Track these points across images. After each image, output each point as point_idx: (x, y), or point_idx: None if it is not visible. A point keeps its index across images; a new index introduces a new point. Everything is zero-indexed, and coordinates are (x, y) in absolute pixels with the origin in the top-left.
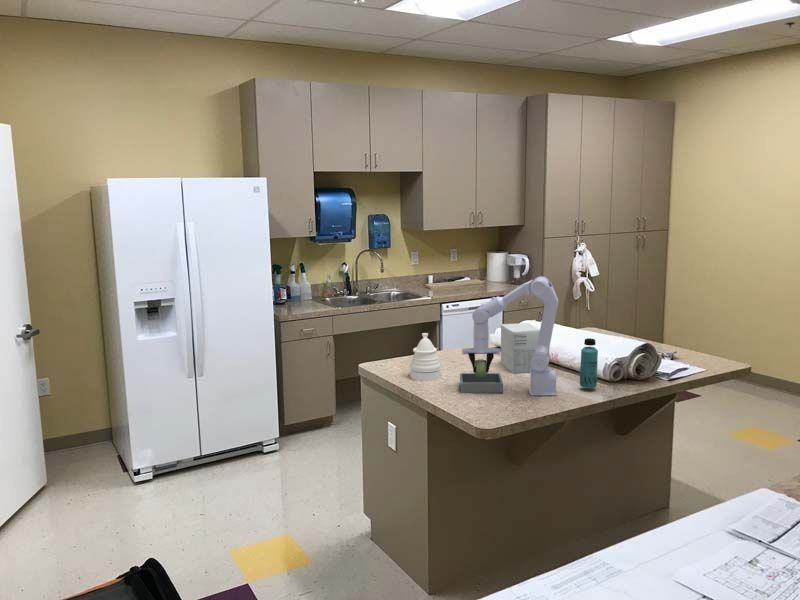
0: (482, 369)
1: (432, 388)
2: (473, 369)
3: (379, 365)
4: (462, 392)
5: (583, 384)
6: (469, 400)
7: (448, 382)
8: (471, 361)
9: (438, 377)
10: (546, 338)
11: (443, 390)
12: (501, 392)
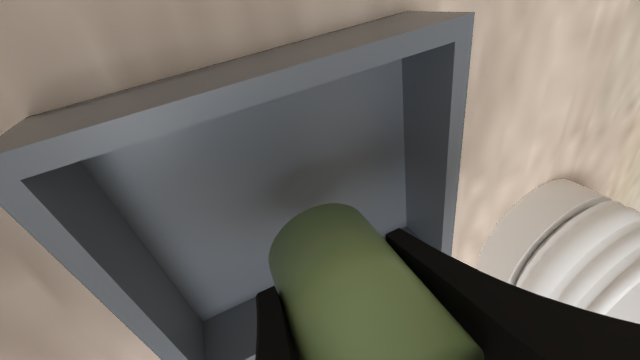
0: (333, 276)
1: (545, 82)
2: (428, 244)
3: None
4: (402, 13)
5: None
6: None
7: (460, 207)
8: (554, 305)
9: (498, 235)
10: None
11: (502, 59)
12: (42, 115)
